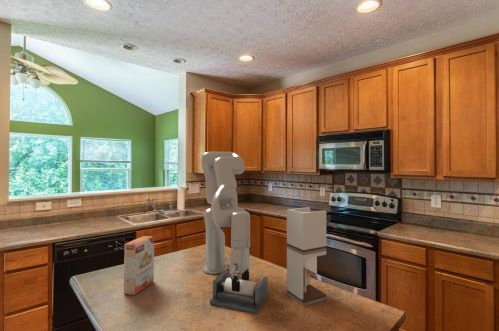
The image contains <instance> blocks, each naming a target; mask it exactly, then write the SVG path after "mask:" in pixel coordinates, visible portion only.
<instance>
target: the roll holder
mask: <svg viewBox="0 0 499 331" xmlns="http://www.w3.org/2000/svg"><path fill="white" fill-rule="evenodd" d="M227 278H229V270H227V271H224V272H223V273H220V274H219V275H218V276H217V277H216V278H215V279H213V280H212V298H211V299H210V300H209V305H210V306H214V307H215V306H216V307H222V308H225V309H229V310H236V311H240V312H245V313H250V314H254V315H257V314H258V313H259V312H260V310H261V309H262V307H263V305H264V303H265V302H266V301H267V300H268V298H269V297H270V294H271V293H270V292H271V291H270V290H269V286H268V285H269V284H268V283H269V278H268V276H263V277H262V279H261V280H260V281H259V283H257V286H256V288H255V298H251V297H246V296H240V295H235V294H229V293H224V284H225V281H226V279H227Z"/></svg>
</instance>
